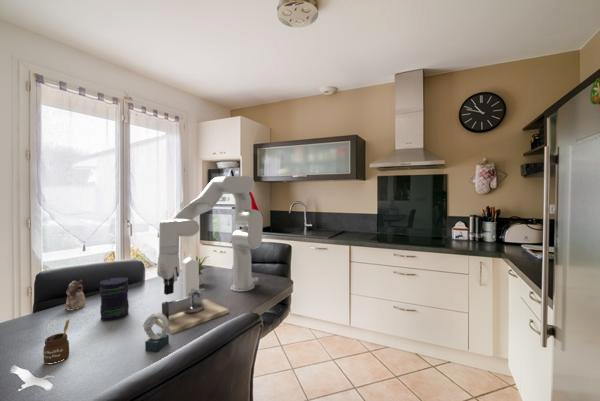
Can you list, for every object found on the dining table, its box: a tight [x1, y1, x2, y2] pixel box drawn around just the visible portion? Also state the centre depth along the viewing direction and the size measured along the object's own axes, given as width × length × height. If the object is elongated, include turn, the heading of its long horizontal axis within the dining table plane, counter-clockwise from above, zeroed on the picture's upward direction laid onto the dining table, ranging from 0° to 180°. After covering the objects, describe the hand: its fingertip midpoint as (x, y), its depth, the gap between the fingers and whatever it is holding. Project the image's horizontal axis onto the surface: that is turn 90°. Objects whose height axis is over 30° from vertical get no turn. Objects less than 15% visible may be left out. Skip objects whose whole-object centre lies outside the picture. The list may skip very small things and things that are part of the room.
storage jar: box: [99, 276, 130, 322], centre depth 115 cm, size 10×10×15 cm
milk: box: [181, 253, 200, 298], centre depth 131 cm, size 6×6×22 cm
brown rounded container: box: [42, 318, 70, 364], centre depth 85 cm, size 6×6×12 cm
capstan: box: [161, 288, 206, 319], centre depth 114 cm, size 18×8×8 cm, turn 138°
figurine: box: [64, 279, 86, 310], centre depth 124 cm, size 7×7×12 cm
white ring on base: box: [142, 312, 170, 353], centre depth 91 cm, size 6×8×11 cm
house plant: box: [195, 255, 210, 286], centre depth 157 cm, size 14×14×16 cm
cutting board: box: [155, 298, 229, 335], centre depth 115 cm, size 24×18×2 cm
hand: (168, 293), depth 116 cm, fingers closed
